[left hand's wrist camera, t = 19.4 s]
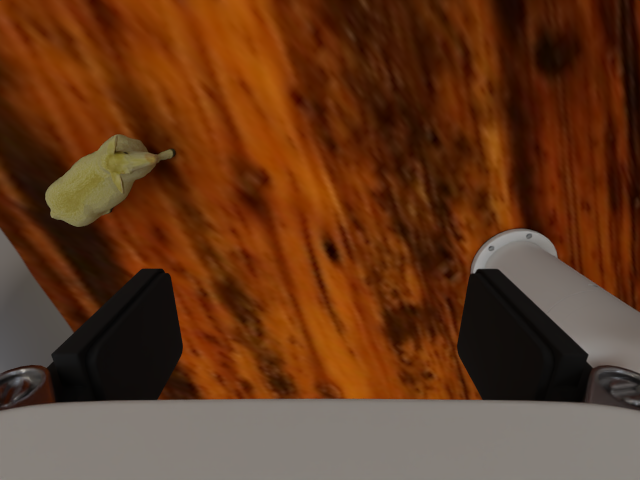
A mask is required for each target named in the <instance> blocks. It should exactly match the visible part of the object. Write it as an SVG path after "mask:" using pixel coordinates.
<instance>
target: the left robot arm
mask: <svg viewBox="0 0 640 480" xmlns="http://www.w3.org/2000/svg"><path fill="white" fill-rule="evenodd" d="M182 349H183V344H182V338H181V332H180V327H179V321H178V315H177V310H176V304H175V298H174V293H173V287H172V281H171V277H170V275H169V274H168V273H165V272H164V270H163V269H141V270H140V271H139V272H138V273H137V274H136V275H135V276H134V277H133V278H132V279H131V280H129V281H128V282H127V283H126V284H125V285H124V286H123V287H122V288H121V289H120V290H119V291H118V292H117V293H116V294H115V295H114V296H113V297H112V298H110V299H109V300H108V301H107V302H106V303H105V304H104V305H103V306H102V307H101V308H100V309H99V310H98V311H97V312H96V313H95V314H94V315H93V316H91V317H90V318H89V319H88V320H87V321H86V322H85V323H84V324H83V325H82V326H81V327H80V328H79V329H78V330H77V331H76V332H75V333H74V334H72V336H70V337H69V338H68V339H67V340H66V341H65V342H64V343H63V344H62V345H61V346H60V347H59V348H58V349H57V350H56V351H55V352H53V353H52V358H53V362H52V363H51V364H50V365H49V366H48V367H47V368H45V367H43V366H38V365H29V366H22V367H18V368H14V369H11V370H8V371H5V372H3V373H1V374H0V480H640V312H638V311H637V310H635V309H633V308H632V307H630V306H629V305H627V304H626V303H624V302H622V301H621V300H619V299H618V298H616V297H615V296H613V295H612V294H610V293H609V292H607V291H606V290H604V289H603V288H601V287H600V286H598V285H597V284H595V283H594V282H592V281H591V280H589V279H588V278H586V277H585V276H583V275H582V274H580V273H579V272H577V271H576V270H574V269H573V268H571V267H570V266H568V265H567V264H565V263H564V262H562V261H561V260H559V259H558V257H557V252H556V249H555V247H554V245H553V244H552V243H551V241H550V240H549V239H547V238H546V237H545V236H543V235H542V234H540V233H538V232H536V231H533V230H530V229H512V230H508V231H505V232H502V233H500V234H497V235H496V236H494V237H492V238H491V239H489V240H488V241H487V242H486V243H485V244H484V245H483V246H482V247H481V248H480V249H479V251H478V252H477V254H476V256H475V257H474V260H473V263H472V267H471V275H470V277H469V281H468V287H467V293H466V298H465V304H464V310H463V315H462V321H461V327H460V332H459V338H458V344H457V349H458V354H459V357H460V359H461V360H462V362H463V364H464V366H465V368H466V370H467V372H468V373H469V375H470V377H471V379H472V381H473V383H474V384H475V386H476V388H477V390H478V392H479V394H480V395H481V397H482V399H483V400H409V399H223V400H157V399H158V397H159V395H160V394H161V392H162V390H163V388H164V386H165V384H166V383H167V381H168V379H169V377H170V375H171V373H172V372H173V370H174V368H175V366H176V364H177V362H178V360H179V359H180V357H181V354H182Z"/></svg>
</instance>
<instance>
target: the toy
mask: <svg viewBox="0 0 640 480" xmlns="http://www.w3.org/2000/svg"><path fill="white" fill-rule="evenodd" d="M174 156H175V150H174V149H169V150H166V151H165V152H161V153H160V154H158V155H156V154H151V153H148V151H147V149H146V147H145V146H144V145H143V143H142V142H141V141H140V140H136V139H131V138H128V137H126V136H124V135H120V134H119V135H115V136H113V137H111V138H109V139H108V140H107V141H106V142H105V143H104V144H103V145H102V146H101V147H100V149H99V150H98V151H96V152H94V153H92V154H89V155H87V156H85V157H83V158H81V159H80V160H79V161H78V162H76V163H75V164H74V165H73V166H72V168H71V169H70V170H69V171H68V172H67V173H65V175H64V176H63V177H61V178H59V179H58V180H57V181H55V182H54V183H53V184H52V185H51V186H50V187H49V188H48V190H47V192H46V202H47V204H48V205H49V207H50V208H51V212H50V214H51V217H52V218H55V219H57V220H60V219H61V220H64V221H65V222H67V223H69V224H71V225H74V226H77V227H80V226H85V225H88V224H90V223H92V222H93V221H95V220H96V219H97V218H99V217H100V216H101V215H104V214H108V213H110V212H111V211H112V208H113V207H114V206H116V205H117V204H119V203H120V202H122V201H123V200H124V199H125V198H126V197H127V195H128V194H129V192H130V190H131V188H132V185H133V183H134V181H135V180H136V179H140V178H142V177H144V176H145V175H146V174H148V173H149V172H150V171H151V170H152V169H153V168H154V167H155V165H156V163H158V162H159V161H160V160H165V159H169V158H172V157H174Z"/></svg>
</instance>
